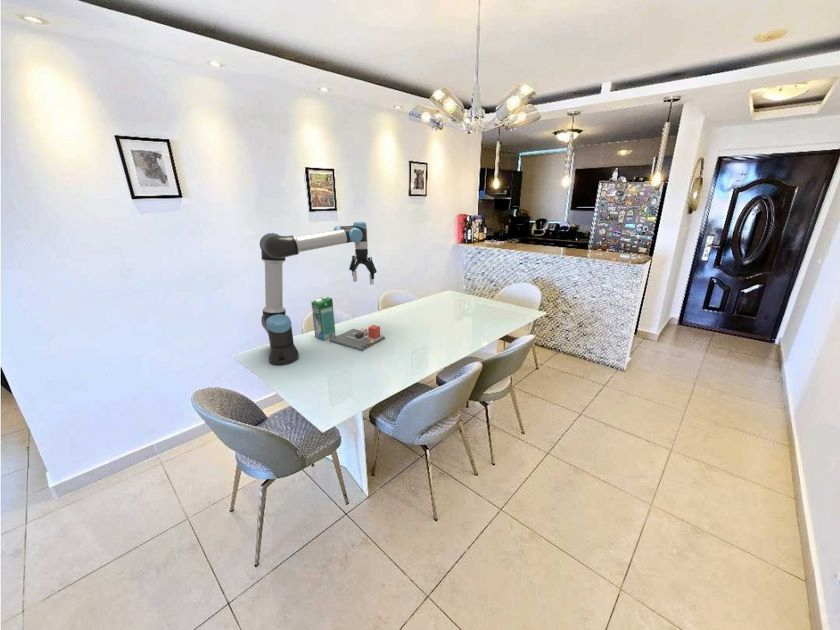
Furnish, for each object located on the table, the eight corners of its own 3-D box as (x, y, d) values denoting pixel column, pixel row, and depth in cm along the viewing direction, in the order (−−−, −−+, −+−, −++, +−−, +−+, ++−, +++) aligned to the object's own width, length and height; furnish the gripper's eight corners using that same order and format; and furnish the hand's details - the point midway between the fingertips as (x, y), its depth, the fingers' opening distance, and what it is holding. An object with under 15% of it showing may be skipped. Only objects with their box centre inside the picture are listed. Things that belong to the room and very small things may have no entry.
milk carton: (315, 337, 210) (310, 298, 202) (327, 333, 217) (324, 295, 208) (323, 341, 204) (318, 301, 196) (335, 336, 211) (332, 298, 202)
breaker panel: (329, 341, 204) (328, 334, 203) (353, 330, 221) (352, 323, 219) (361, 351, 191) (361, 343, 189) (385, 338, 208) (384, 331, 206)
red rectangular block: (368, 338, 205) (368, 327, 203) (374, 335, 209) (373, 324, 207) (375, 339, 203) (374, 329, 201) (380, 337, 207) (380, 326, 205)
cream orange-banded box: (359, 335, 210) (359, 329, 208) (363, 332, 213) (363, 327, 212) (363, 336, 208) (362, 330, 207) (367, 333, 211) (367, 328, 210)
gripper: (341, 247, 207) (344, 281, 214) (373, 250, 194) (375, 286, 201) (350, 246, 213) (352, 279, 220) (381, 249, 200) (383, 284, 207)
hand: (363, 282), depth 211 cm, fingers open, 13 cm apart
